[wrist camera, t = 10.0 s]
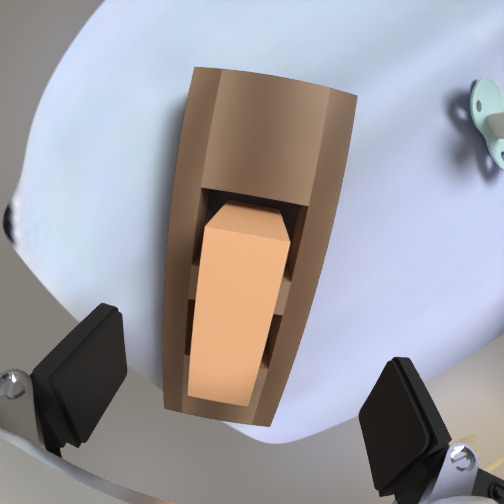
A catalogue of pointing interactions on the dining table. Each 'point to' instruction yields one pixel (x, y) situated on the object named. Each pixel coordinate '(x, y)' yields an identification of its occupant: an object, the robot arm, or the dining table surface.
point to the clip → (235, 300)
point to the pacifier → (489, 116)
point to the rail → (261, 185)
